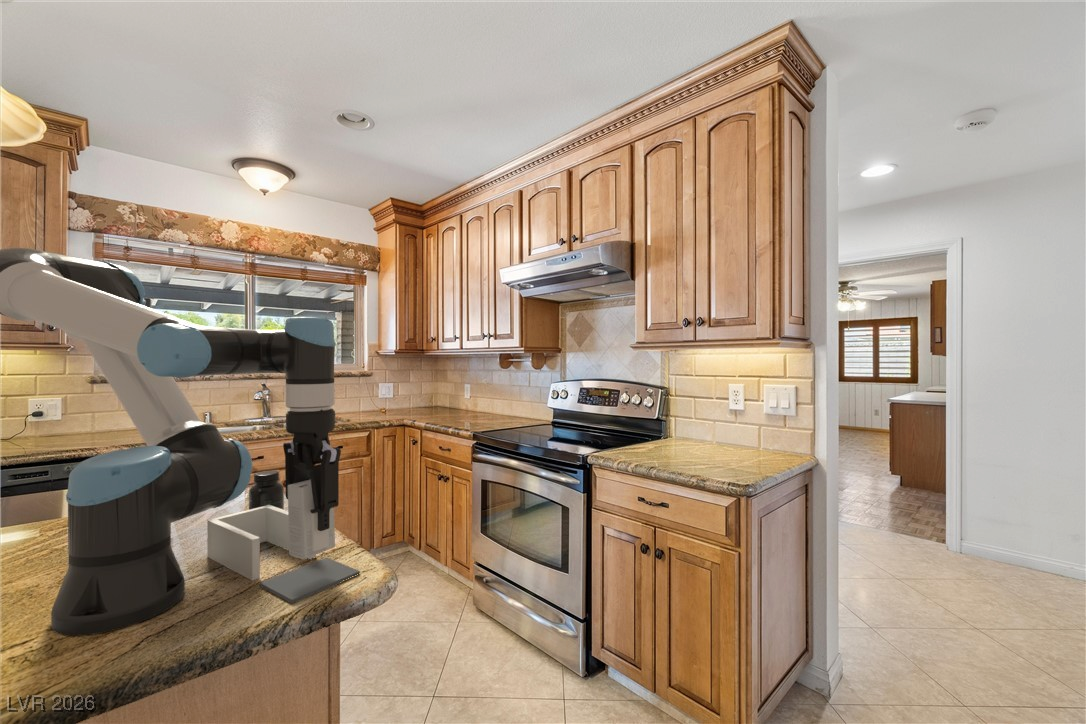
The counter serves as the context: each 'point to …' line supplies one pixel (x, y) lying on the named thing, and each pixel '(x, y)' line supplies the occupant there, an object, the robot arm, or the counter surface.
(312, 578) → the mat
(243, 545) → the white u-shaped frame
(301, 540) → the skincare box
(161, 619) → the counter surface
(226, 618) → the counter surface
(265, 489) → the supplement bottle
